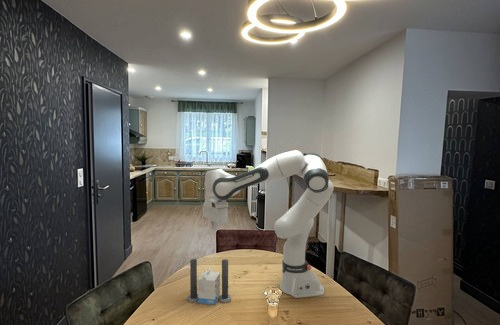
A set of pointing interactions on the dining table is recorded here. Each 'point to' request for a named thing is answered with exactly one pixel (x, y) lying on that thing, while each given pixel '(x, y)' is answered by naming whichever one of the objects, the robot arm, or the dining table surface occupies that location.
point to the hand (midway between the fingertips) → (214, 229)
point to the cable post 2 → (225, 283)
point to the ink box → (209, 287)
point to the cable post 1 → (193, 282)
